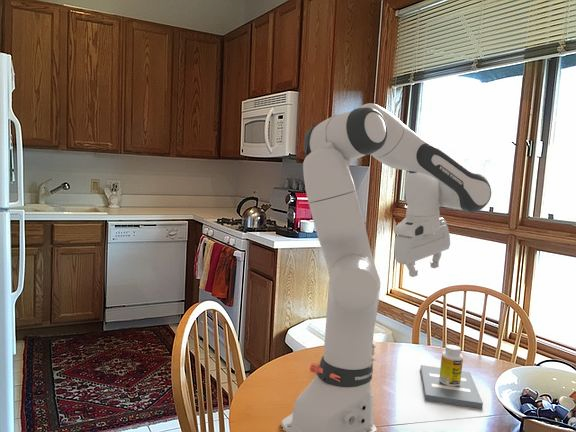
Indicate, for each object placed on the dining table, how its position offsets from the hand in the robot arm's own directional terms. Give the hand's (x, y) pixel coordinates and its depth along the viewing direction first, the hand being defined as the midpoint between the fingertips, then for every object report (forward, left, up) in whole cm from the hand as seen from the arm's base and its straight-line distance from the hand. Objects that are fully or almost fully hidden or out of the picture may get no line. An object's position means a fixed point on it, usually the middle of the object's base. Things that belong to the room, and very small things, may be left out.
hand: (424, 271), depth 135 cm
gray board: (+3, -9, -31) cm, 33 cm away
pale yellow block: (+1, +19, -32) cm, 37 cm away
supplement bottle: (+3, -9, -30) cm, 31 cm away
